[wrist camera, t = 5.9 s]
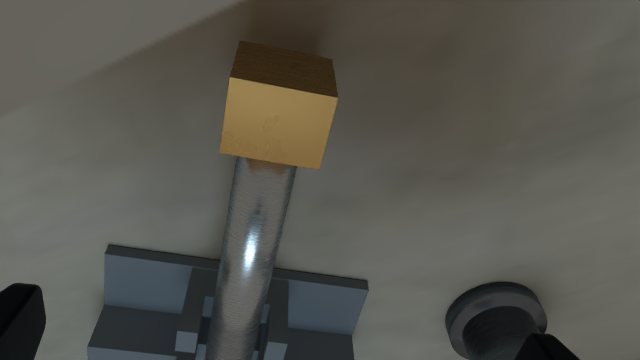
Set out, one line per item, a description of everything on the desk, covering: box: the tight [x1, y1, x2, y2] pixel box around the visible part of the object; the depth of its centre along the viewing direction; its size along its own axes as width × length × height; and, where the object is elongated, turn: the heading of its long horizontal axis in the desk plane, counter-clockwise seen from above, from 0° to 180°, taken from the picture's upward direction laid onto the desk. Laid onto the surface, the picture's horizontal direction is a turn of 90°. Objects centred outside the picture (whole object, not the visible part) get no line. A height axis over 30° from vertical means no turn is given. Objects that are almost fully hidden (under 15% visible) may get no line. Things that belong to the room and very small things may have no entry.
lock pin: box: [204, 41, 338, 360], centre depth 19 cm, size 3×14×3 cm, turn 167°
